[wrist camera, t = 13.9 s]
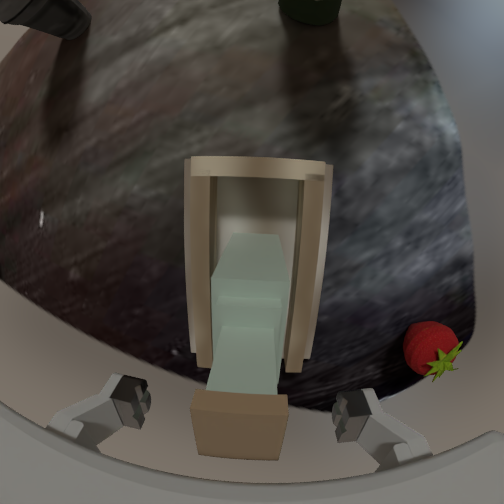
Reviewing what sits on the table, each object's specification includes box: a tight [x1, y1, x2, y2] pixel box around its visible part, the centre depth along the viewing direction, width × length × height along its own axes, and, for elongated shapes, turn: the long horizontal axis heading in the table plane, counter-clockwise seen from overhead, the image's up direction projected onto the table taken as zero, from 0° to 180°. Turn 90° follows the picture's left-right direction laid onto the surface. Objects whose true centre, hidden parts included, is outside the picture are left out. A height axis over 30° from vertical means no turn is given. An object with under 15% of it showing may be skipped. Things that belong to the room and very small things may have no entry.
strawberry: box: [403, 321, 463, 382], centre depth 23 cm, size 6×8×10 cm
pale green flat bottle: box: [190, 232, 290, 460], centre depth 17 cm, size 7×4×18 cm, turn 178°
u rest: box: [184, 156, 333, 372], centre depth 24 cm, size 13×20×5 cm, turn 178°
